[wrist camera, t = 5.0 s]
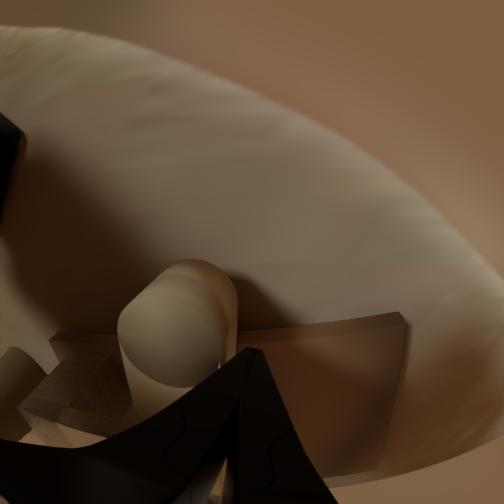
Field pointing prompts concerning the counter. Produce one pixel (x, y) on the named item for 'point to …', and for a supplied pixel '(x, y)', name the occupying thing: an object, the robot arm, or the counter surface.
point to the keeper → (79, 402)
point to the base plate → (313, 382)
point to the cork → (16, 391)
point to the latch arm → (178, 337)
